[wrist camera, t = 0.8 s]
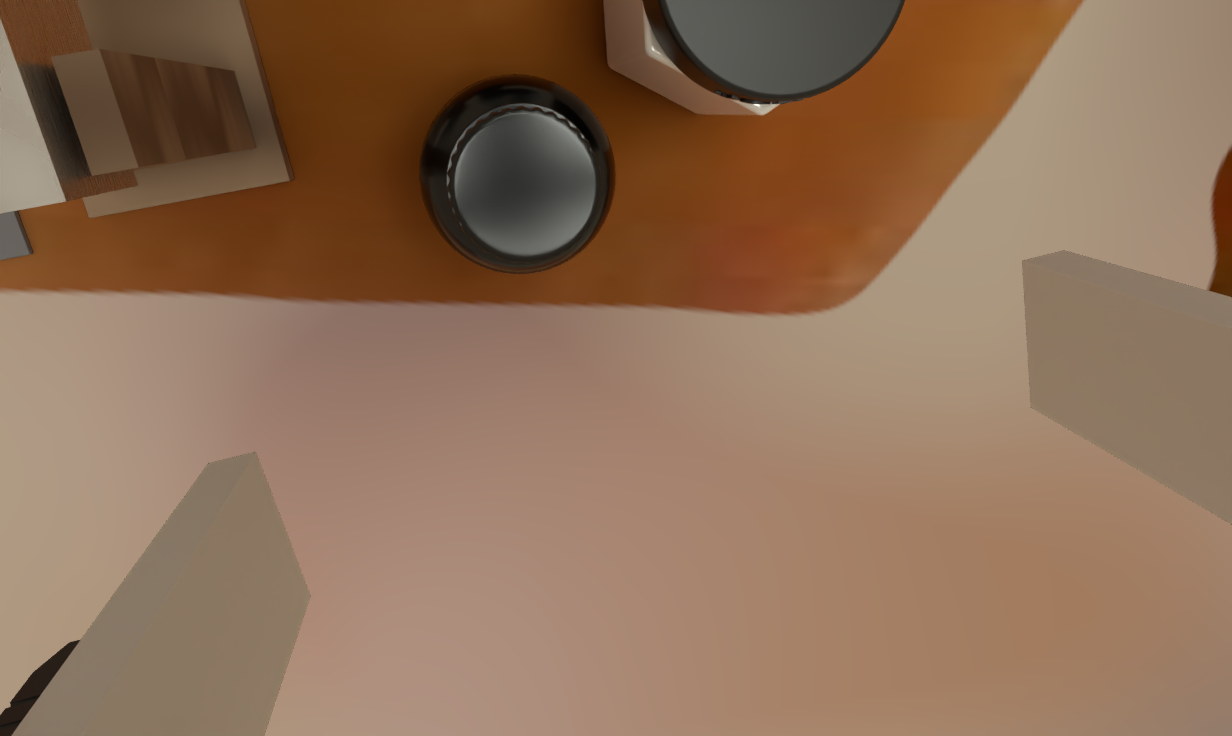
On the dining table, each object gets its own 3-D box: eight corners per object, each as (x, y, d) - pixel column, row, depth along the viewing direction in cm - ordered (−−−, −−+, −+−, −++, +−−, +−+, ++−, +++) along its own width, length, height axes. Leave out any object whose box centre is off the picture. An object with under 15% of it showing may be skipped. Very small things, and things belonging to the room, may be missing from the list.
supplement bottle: (430, 240, 39) (409, 294, 27) (427, 76, 37) (404, 61, 26) (586, 243, 40) (629, 296, 28) (591, 84, 38) (638, 72, 27)
